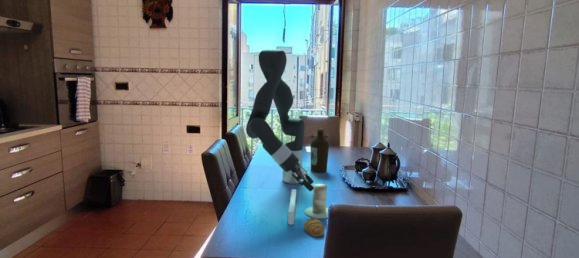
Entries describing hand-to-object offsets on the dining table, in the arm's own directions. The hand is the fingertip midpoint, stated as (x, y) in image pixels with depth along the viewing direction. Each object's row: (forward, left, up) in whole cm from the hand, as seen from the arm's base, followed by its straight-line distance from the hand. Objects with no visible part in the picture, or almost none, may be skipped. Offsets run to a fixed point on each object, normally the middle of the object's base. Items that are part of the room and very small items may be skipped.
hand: (312, 186), depth 146 cm
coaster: (+2, +2, -11) cm, 11 cm away
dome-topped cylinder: (+2, +2, -11) cm, 11 cm away
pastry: (+13, -11, -11) cm, 21 cm away
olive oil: (-41, +48, -11) cm, 64 cm away
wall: (-5, -6, -11) cm, 13 cm away
